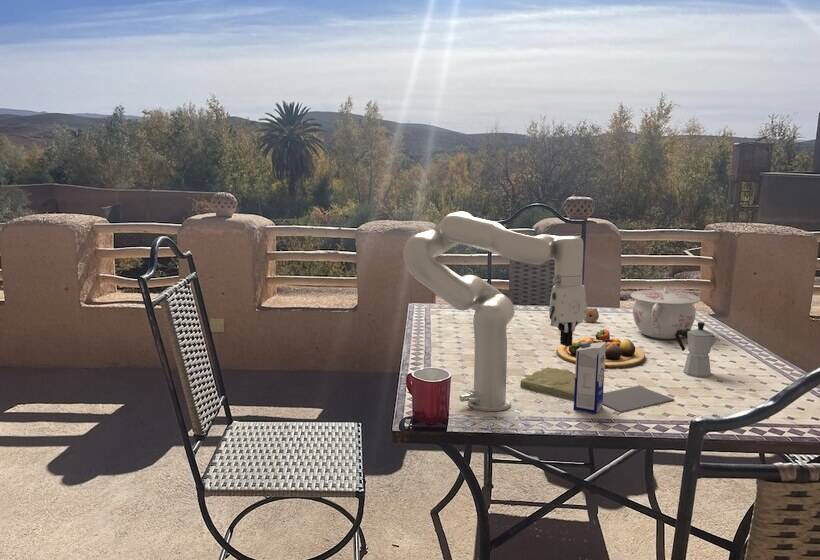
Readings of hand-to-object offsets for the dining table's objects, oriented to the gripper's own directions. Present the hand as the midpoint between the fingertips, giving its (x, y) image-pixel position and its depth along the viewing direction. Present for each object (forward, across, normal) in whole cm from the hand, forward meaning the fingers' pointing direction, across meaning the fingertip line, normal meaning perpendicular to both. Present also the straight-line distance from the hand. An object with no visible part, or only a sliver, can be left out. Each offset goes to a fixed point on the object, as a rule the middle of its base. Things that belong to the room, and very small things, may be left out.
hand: (566, 344), depth 189 cm
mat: (+21, +26, +1) cm, 34 cm away
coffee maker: (+21, +66, +10) cm, 70 cm away
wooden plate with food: (+22, +52, +40) cm, 69 cm away
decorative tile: (+21, +16, +20) cm, 33 cm away
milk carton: (+21, +10, +1) cm, 23 cm away
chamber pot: (+21, +96, +50) cm, 110 cm away
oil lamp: (+21, +84, +83) cm, 120 cm away
